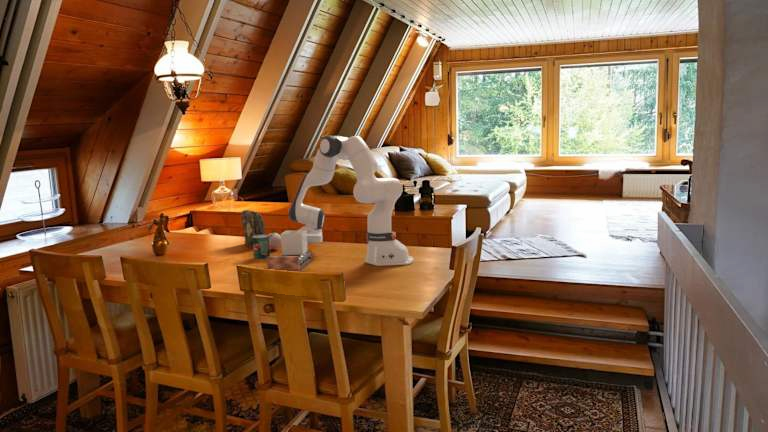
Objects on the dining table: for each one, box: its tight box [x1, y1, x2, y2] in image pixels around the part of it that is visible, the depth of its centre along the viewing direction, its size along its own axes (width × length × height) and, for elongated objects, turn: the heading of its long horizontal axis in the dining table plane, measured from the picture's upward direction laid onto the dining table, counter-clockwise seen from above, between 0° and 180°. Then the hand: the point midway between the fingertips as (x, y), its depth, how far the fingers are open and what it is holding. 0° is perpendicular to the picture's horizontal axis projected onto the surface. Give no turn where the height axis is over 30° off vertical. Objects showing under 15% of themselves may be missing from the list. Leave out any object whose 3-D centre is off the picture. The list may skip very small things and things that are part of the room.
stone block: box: [240, 209, 266, 248], centre depth 317 cm, size 18×9×20 cm, turn 48°
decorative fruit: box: [268, 230, 282, 251], centre depth 306 cm, size 9×8×10 cm
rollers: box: [281, 251, 312, 265], centre depth 270 cm, size 12×21×3 cm, turn 172°
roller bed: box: [266, 255, 314, 272], centre depth 268 cm, size 14×26×7 cm, turn 172°
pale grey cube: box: [280, 229, 309, 256], centre depth 274 cm, size 10×8×10 cm
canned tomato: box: [252, 234, 271, 261], centre depth 287 cm, size 8×8×11 cm
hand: (297, 241), depth 279 cm, fingers closed
